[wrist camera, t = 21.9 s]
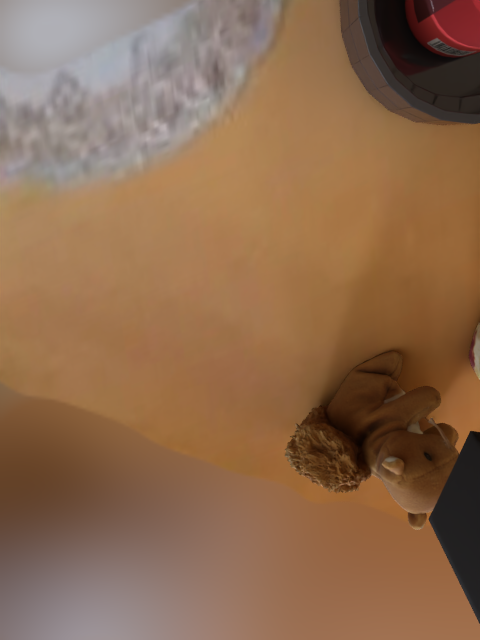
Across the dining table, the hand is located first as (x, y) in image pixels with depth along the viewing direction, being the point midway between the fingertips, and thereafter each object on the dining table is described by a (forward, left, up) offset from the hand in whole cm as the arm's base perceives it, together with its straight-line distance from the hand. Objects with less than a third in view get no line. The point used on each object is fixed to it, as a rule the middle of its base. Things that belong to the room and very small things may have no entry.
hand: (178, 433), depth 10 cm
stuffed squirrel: (+22, +4, -29) cm, 36 cm away
